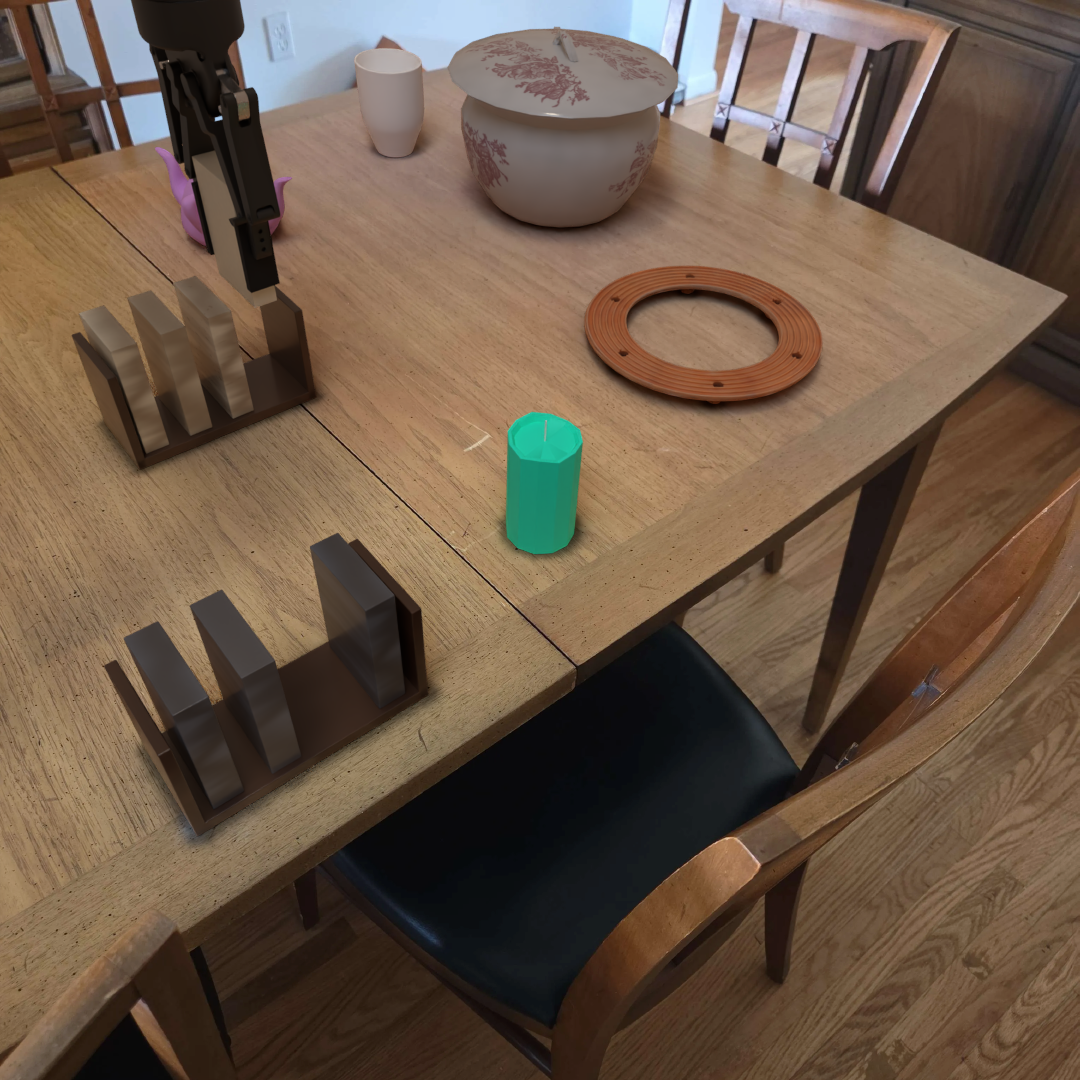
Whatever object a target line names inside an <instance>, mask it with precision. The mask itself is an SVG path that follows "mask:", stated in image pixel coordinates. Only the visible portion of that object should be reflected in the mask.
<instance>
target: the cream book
mask: <svg viewBox="0 0 1080 1080" xmlns="http://www.w3.org/2000/svg"><path fill="white" fill-rule="evenodd" d="M192 160H193V164H194V168H195V172H196V177H197V181H198V185H199V190H200V194H201V198H202V202H203V207H204V211H205V215H206V220H207V224H208V228H209V232H210V237H211V241H212V245H213V250H214V258H215V263H216V266H217V271H218V274H219V275H220V276H221V277H222V279H224V280H225V282H227V283H228V284H229V285H230V286H231V287H232V288H233V289H234V290H235V291H236V292H237V293H238V294H239V295H241V296H242V297H243V298H244V300H246V301H247V302H248V303H249V304H250V305H251V306H252V307H253V308H254V309H256V308H260V306H262V305H265V304H268V303H271V302H274V301H277V297H276V292H275V286H276V285H275V286H271V287H268V288H265V289H262V290H259V291H256V292H253V293H251V292H250V291H249V290H248V289H247V285H246V281H245V276H244V271H243V267H242V262H241V257H240V253H239V248H238V243H237V238H236V234H235V229H234V227H233V226H232V225H231V223H230V221H229V219H230V218H234V217H237V214H236V211H235V208H234V206H233V203H232V200H231V197H230V194H229V191H228V188H227V185H226V182H225V179H224V176H223V173H222V170H221V167H220V164H219V161H218V158H217V155H216V152H215V151H211V152H207V153H203V154H199V155H195V156H192Z"/></svg>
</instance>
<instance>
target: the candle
mask: <svg viewBox="0 0 1080 1080" xmlns="http://www.w3.org/2000/svg"><path fill="white" fill-rule="evenodd" d="M506 437H507V438H506V439H507V441H506V442H507V443H506V444H507V446H506V490H505V491H506V493H505V530H506V538H507V540H509V541H510V542H511V543H512V544H513V545H514V546H515V547H516V548H517V549H519V550H521V551H524V552H527V553H530V554H532V555H545V554H555V553H556V552H558V551H561V550H562V549H564V548H566V547H568V545H569V543H570V542H571V540H572V539H573V537H574V535H575V529H576V519H577V509H578V508H577V507H578V497H579V488H580V487H579V486H580V478H581V477H580V476H581V467H582V457H583V448H584V447H583V445H584V441H583V436H582V432H581V429H580V428H578V427H577V426H576V425H575V424H573V423H572V422H571V421H569V420H567V419H565V418H563V417H560V416H558V415H556V414H553V413H549V412H539V411H538V412H537V411H531V412H529V413H527V414H524V415H523V416H521V417H519V418H517V419H515V421H514V422H513V423H512V424H511V426H510V427H509V428H508V430H507V435H506Z"/></svg>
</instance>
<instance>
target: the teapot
mask: <svg viewBox="0 0 1080 1080" xmlns="http://www.w3.org/2000/svg"><path fill="white" fill-rule="evenodd" d="M154 150H155V152H156V153H157V154H158V155H159V156H160V158H161V159H162V160H163V162H164V164H165V166H166V169H167V172H168V179H169V184H170V189H171V192H172V195H173V197H174V199H175V200H176V202H177V203H178V204H179V206H180V220H181V224H182V225H181V226H182V228H183V229H184V231H185V233H186V234H187V235H188V236H189V237H190V238H192V240H195V241H196V242H197V243H199V244H200V245H202V246H204V247H206V243H205V239H204V235H203V231H202V227H201V222H200V218H199V214H198V210H197V206H196V202H195V197H194V193H193V189H192V185H191V182H193V179H189V178H188V179H187V177H186V175H185V173H184V172H183V170H182V168H181V166H180V164H178V162H177V161H176V160H175V158H174V154H173V153H171V152H170V151H168V150H167V149H165V148H163V147H159V146H156V147H154ZM291 180H293V176H281V177H278V178H276V179H274V180H273V182H274V187H275V191H276V196H277V200H278V205H279V209H280V217H279V218H276V219H272V220H269V221H268V222H269V227H270V233H271V235H273V234H274V232H275V231H276V229H277V227H278V226H279V225H280V221H281V220H282V218H283V216H284V214H285V208H286V206H285V205H286V204H285V197H284V187H285V186H286V184H287V183H288V182H289V181H291Z"/></svg>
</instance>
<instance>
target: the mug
mask: <svg viewBox="0 0 1080 1080" xmlns="http://www.w3.org/2000/svg"><path fill="white" fill-rule="evenodd" d="M353 62H354V70H355V71H354V72H355V76H356V77H355V78H356V79H355V80H356V87H357V94H358V102H359V108H360V114H361V118H362V121H363V123H364V126H365V127H366V128H365V129H366V130H367V132H368V134H369V136H370V138H371V140H372V142H373V145H374V147H375V149H376V151H377V152H378V153H379V154H380V155H382V156H385V157H388V158H403V157H407V156H409V155H411V154H412V153H414V152H413V151H414V148H415V146H416V144H417V141H418V138H419V136H420V132H421V129H422V127H423V125H424V118H425V93H424V92H425V91H424V77H423V61H422V58H421V57H420V56H419V55H417V54H416V53H413V52H411V51H408V50H405V49H399V48H390V47H381V48H379V47H377V48H371V49H366V50H363V51H361V52H359V53H357V54H356V55H355V56H354V58H353Z"/></svg>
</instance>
